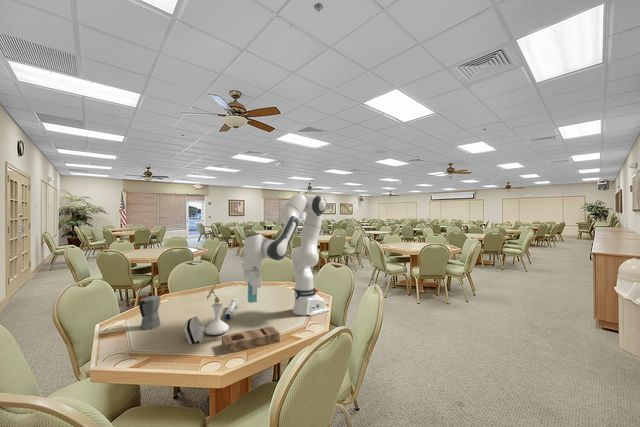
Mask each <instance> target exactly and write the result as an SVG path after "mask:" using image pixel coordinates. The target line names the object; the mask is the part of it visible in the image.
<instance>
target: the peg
mask: <svg viewBox="0 0 640 427" xmlns="http://www.w3.org/2000/svg"><path fill="white" fill-rule="evenodd" d="M247 302H248V303H249V304H251V303H257V302H258V288H257V289H256V294H255V295H253V294H252V286H251V285H250V282H249V281H248V283H247Z"/></svg>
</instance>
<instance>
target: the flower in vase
mask: <svg viewBox="0 0 640 427" xmlns="http://www.w3.org/2000/svg"><path fill="white" fill-rule="evenodd" d="M215 288H216V284H213V285H212V286H211V288H210V291H208V294H207V296H206V299H207V300H209V299H210V297H211V296H212V294H213V295H214V297H215V298H214V300H213V301H214V303H213V304H211V307H212V308H213V310H214V319H213V321H211V323H210V324H209V325H208V326H206V327H205V333H206V335H211V336H217V335H222V334H224V333H226V332H227V331H228V330H229V329H230V326H229V324H228V323H226V322H225V321H223V320H222V319H221V317H220V313H221V308H222V306H223V304H222V303H219V302H221V301H220V298H219V297H218V296H217V295H216V294H215V292H214V290H215Z"/></svg>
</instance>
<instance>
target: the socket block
mask: <svg viewBox="0 0 640 427" xmlns="http://www.w3.org/2000/svg"><path fill="white" fill-rule="evenodd" d="M280 335H281V334H280V332H279V330H277V329H276V328H275V327H274V326H273V325H270V326H266V327H265V326H264V327H259V328H255V329H251V330H245V331H240V332H236V333H230V334H225V335H221V348H222V349H223V351H224V353H225V355H228V354H233V353H237V352H242V351H247V350H249V349H250V350H251V349H254V348H255V349H256V348H260V347H264V346H266V345H267V346H268V345H272V344H276V343H280V342H281V340H280Z"/></svg>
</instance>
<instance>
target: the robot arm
mask: <svg viewBox="0 0 640 427" xmlns="http://www.w3.org/2000/svg"><path fill="white" fill-rule="evenodd" d="M326 209H327V201H326V199H325V197H323V196H321V195H314V194H302V193H301V194H300V193H295V194H293V195H291V197H290V198H289V199H288V200H287V201H286V203H285V204H284V205H283V207H282V208H281V210H280V213H279V218H280V220H281V221H282V223H283V224H284V227H283V229H282V231H281V233H280V234H279V236H278V237H277V238H276V239H271V238H268V237H265V236H263V234H261V233H259V232H253V233H252V232H251V233H248V234H247V235H245V237H244V242H243V253H244V257H243V262H242V267H243V278H244V281H245V282H247V284H248V281H249V282H250V285H251V286H252V294H253V295H255V294H256V289H257V290H258V288H261V287H262V285H263V284H262V283H263V282H262V281H263V280H262V273H261V271H260V270H262V264H263V263H262V262H263V261H262V258H267V259H272V260H275V261H281V260H283V259H284V258H285V257H286V256H287V253H288V249H289V246H290V243H291V241H292V239H293V237H294V235H295V233H296V231H297V228H298V225H299V220H300V218H301V216H302V215H303V213H306V217H305V218H304V221H303V225H302V227H301V228H302V229H301V232H300V240H301V241H300V246H298V247H295V248H293V249H292V251H291V252H290V259H291V260H292V266H293V270H294V285H295V286H294V287H295V288H294V294H293V295H294V305H293V309H292V313H293V314H294V315H297V316H307V315H309V316H308V317H312V316H315V315H320V314H323V313H327V312H329V311H330V308H329V307H328V306H327V305H326V300H324V298H323V297H321V296H320V295H319V294H318V293H319V292H320V289H319V288H315V287H314V274H313V272H312V269H311V268H312V267H315V266H316V265H317V264H318V263H319V258H320V256H319V254H318V243H319V236H320V233H321V228H322V225H323V213H324V212H325V210H326Z"/></svg>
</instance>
